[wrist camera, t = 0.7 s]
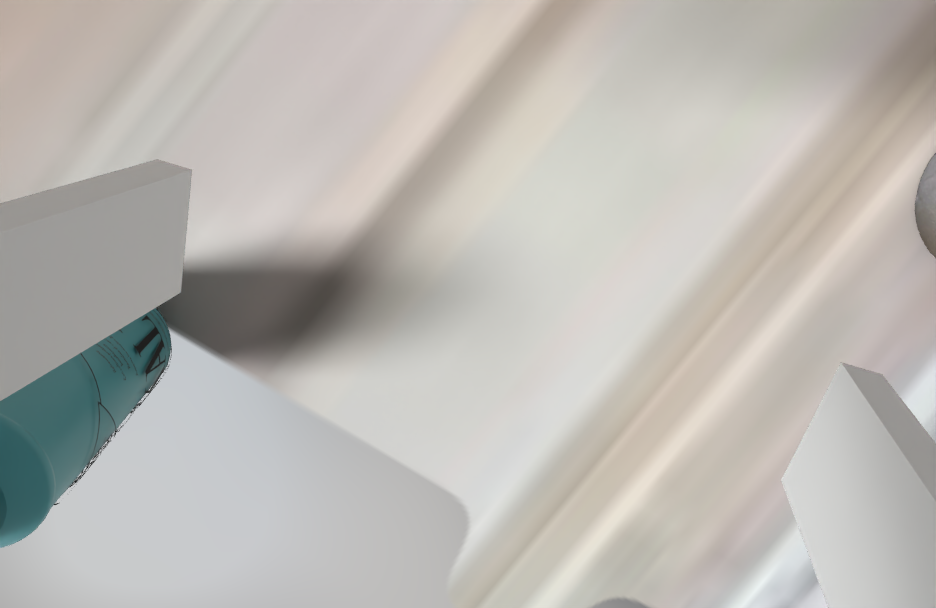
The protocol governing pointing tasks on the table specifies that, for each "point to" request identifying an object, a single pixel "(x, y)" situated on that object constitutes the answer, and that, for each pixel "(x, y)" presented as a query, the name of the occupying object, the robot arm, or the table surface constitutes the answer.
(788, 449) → the table surface
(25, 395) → the beverage bottle
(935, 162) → the pillar candle
